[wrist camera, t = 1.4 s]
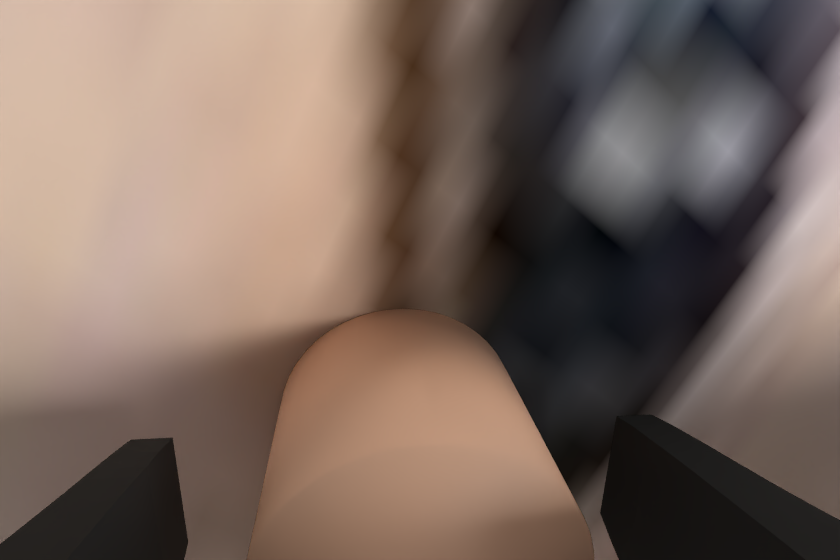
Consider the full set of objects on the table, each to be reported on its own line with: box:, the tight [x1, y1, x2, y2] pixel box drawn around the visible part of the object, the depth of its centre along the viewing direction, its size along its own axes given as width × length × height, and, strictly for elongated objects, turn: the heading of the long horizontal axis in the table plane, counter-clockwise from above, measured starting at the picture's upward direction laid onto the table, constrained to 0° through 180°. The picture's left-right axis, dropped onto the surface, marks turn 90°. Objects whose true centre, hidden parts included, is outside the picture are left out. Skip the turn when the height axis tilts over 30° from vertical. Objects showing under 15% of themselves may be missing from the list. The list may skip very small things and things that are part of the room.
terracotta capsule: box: [247, 309, 594, 560], centre depth 9 cm, size 4×4×4 cm
